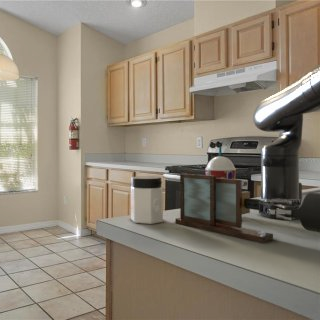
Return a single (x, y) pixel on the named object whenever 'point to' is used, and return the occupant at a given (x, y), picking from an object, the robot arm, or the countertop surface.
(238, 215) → the sash
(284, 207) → the robot arm
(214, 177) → the window frame
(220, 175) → the smoothie
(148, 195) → the jar
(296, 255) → the countertop surface
